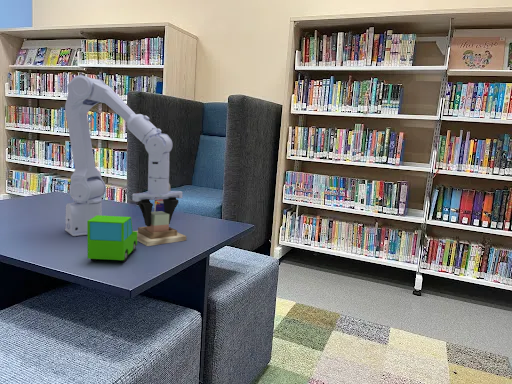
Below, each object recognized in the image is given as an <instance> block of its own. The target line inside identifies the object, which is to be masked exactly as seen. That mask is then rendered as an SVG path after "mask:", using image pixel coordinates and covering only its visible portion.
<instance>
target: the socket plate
mask: <svg viewBox="0 0 512 384" xmlns="http://www.w3.org/2000/svg"><path fill="white" fill-rule="evenodd" d="M133 232H137V242H139V243H141V244H142V245H144V246H146V247H150V246H151V247H152V246H158V245H163V244H164V245H166V244H171V243H178V242H184V241H187V235H185V234H182V233H180V232H178V230H177V229H175V228H172V227H170V226H169V231H163V232H155V233H152V232H150V231H147V226H146V225H145V226H138V228H137V230H133Z"/></svg>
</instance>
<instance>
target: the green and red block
mask: <svg viewBox="0 0 512 384" xmlns="http://www.w3.org/2000/svg"><path fill="white" fill-rule="evenodd" d="M169 227H170V224H169V214H168V213H165V212H162V211H158V212H154V211H152V212H151V226H147V231H150V232H152V233H155V232H163V231H169Z"/></svg>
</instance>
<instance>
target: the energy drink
mask: <svg viewBox="0 0 512 384" xmlns="http://www.w3.org/2000/svg"><path fill="white" fill-rule="evenodd" d="M169 191H171V184H170V182H169ZM154 198H157V197H154ZM153 207H154V208H153V209H154V211H153V212H158V211H162V212H164V203H163V199H159V200H154V204H153Z"/></svg>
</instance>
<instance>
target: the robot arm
mask: <svg viewBox="0 0 512 384" xmlns="http://www.w3.org/2000/svg"><path fill="white" fill-rule="evenodd" d="M66 87H67V92H68V94H67V97H66V101H65V104H64V105H65V106H64V109H65V110H64V111H65V117H66V122H67V123H66V124H67V128H68V134H69V136H68V137H69V140H70V146H71V153H72V158H73V163H74V164H73V165H74V171H73V172H72V174H71V176H70V186H69V189H68V190H69V196H70V198H72V201H73V202H70V203H69V202H68V203H66V205H65V229H64V230H65V232H67V233H68V234H70V235H71V236H72V237H76V236H78V237H79V236H85V235H86V236H87V221H88V220H90V219H92V218H93V217H95V216H97V215H100V216H103V215H102V213H103V212H102V211H103V209H102V200H103V196H104V195H105V194H106V191H107V185H106V182H105V181H104V180H103V177H102V174H101V172H100V171H99V169H97V167H96V164H95V156H94V151H93V146H92V145H93V144H92V138H91V133H90V125H89V119H88V112H89V111H90V110H91V109H92V108H93V107H94V106H96V105H97V104H99V103H102V104H106V106H108V107H109V108H110V109H111V110H112V111H114V112H115V113H116V114H117V115H118V116H119V117H120V118H121V119H123V120H124V121H125V122H126V127H127V130H128V131H129V132H130V133H131V134H132V135H134V136H135V137H136V139H137V140H139V141H140V142H141V143H142V144H143V145H144V148H145V151H146V152H147V154H148V167H147V168H148V170H147V172H148V173H147V191H144V192H138V193H137V192H136V193H132V198H131V199H132V200H131V201H132V202H137V205H138V207H139V209H140V211H141V214H142V216H143V220H144V225H145V227H146V226H151V212H153V207H154V204H153V203H152V202H151V201H155V200H159V199H163V203H164V212H165V213H168V214H169V225H170V224H171V221H172V217H173V215H174V212H175V210H176V208H177V206H178V205H179V199H183V191H181V190H170V191H169V183H170V153H171V151H172V149H173V141H172V138H171V137H170V136H169V135H168V134H167V133H162V130H161V128H157V126H155V124H153V123H152V122H151V121H150V120H151V118H150V117H149V116H147V115H144V114H141V113H135V111H133V110H132V109H131V108H130V106H128V105H127V103H125V101H124V100H123V99H122V98H121V97H120V96H119V95H118V94H117V93H116V92H115V91H114V90H113V88H112V87H111V86H110V85H108V84H106V83H105V81H104V80H102V79H98V78H93V77H88V76H86V75H82V74H80V75H79V74H78V75H76V76H74V77H73V78H72V79H71V80H70V81H69V83H67V85H66ZM155 197H157V198H155Z"/></svg>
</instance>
